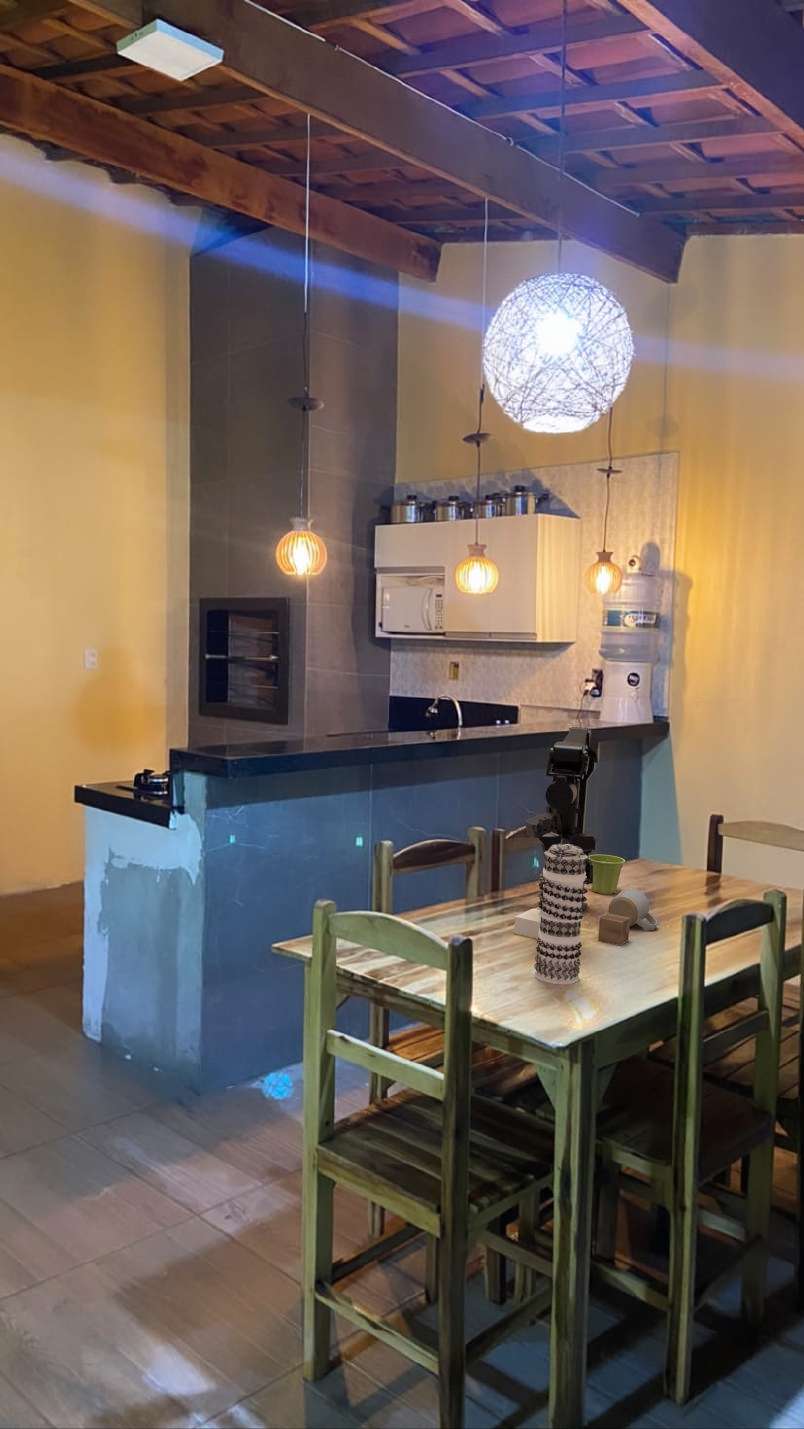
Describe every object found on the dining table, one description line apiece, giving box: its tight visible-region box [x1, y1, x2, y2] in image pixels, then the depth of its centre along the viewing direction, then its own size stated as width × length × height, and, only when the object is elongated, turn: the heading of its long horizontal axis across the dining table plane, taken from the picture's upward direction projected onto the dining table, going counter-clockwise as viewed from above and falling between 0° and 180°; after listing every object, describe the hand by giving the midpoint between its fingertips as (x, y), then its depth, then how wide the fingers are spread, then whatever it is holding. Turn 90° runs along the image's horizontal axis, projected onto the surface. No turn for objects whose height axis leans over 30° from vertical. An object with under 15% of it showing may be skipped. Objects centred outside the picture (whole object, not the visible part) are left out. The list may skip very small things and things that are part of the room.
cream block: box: [513, 908, 541, 939], centre depth 221 cm, size 9×9×4 cm
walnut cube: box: [597, 912, 631, 946], centre depth 219 cm, size 5×5×5 cm
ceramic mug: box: [608, 887, 658, 931], centre depth 232 cm, size 11×8×8 cm
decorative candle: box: [533, 843, 589, 986], centre depth 192 cm, size 9×9×25 cm
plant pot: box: [589, 854, 626, 895], centre depth 262 cm, size 9×9×9 cm
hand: (559, 873), depth 219 cm, fingers open, 9 cm apart
